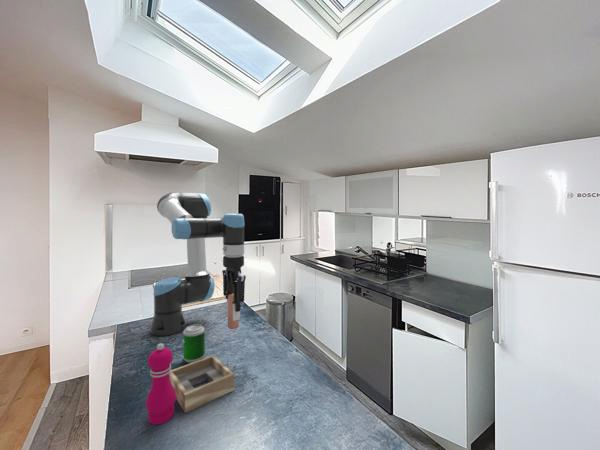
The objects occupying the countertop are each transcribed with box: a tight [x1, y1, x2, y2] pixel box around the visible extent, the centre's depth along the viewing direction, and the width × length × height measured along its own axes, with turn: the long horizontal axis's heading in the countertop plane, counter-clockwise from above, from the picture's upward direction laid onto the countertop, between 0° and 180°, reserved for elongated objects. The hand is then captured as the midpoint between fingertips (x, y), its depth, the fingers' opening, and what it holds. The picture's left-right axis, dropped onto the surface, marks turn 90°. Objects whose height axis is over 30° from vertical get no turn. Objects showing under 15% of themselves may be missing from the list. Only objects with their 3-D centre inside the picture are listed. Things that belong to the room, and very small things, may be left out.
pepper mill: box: [145, 342, 177, 425], centre depth 74 cm, size 7×7×20 cm
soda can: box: [182, 323, 206, 364], centre depth 103 cm, size 8×8×12 cm
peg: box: [227, 294, 240, 330], centre depth 102 cm, size 4×4×12 cm
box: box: [169, 354, 235, 413], centre depth 86 cm, size 15×15×5 cm
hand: (233, 317), depth 102 cm, fingers closed on peg, 4 cm apart
